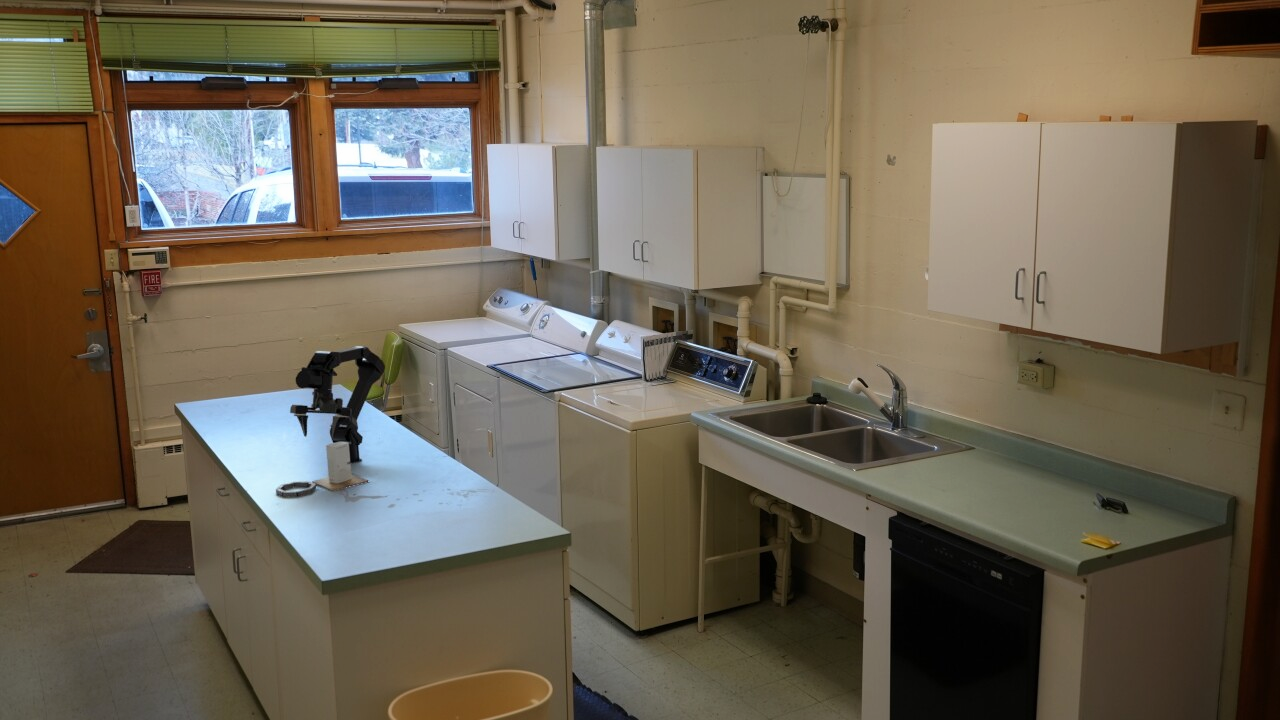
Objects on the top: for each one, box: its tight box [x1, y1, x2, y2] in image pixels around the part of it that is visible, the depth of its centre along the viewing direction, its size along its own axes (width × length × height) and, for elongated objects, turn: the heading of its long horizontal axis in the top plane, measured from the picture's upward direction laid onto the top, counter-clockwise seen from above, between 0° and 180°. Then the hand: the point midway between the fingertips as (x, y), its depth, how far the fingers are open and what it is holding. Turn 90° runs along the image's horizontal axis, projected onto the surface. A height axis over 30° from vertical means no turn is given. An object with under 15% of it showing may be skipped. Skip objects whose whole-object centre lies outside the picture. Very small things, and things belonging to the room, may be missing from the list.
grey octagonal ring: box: [275, 480, 317, 498], centre depth 344 cm, size 11×11×2 cm
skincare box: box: [325, 441, 352, 484], centre depth 351 cm, size 6×4×12 cm
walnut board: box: [311, 472, 370, 492], centre depth 352 cm, size 13×13×1 cm
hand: (319, 437), depth 361 cm, fingers open, 9 cm apart
